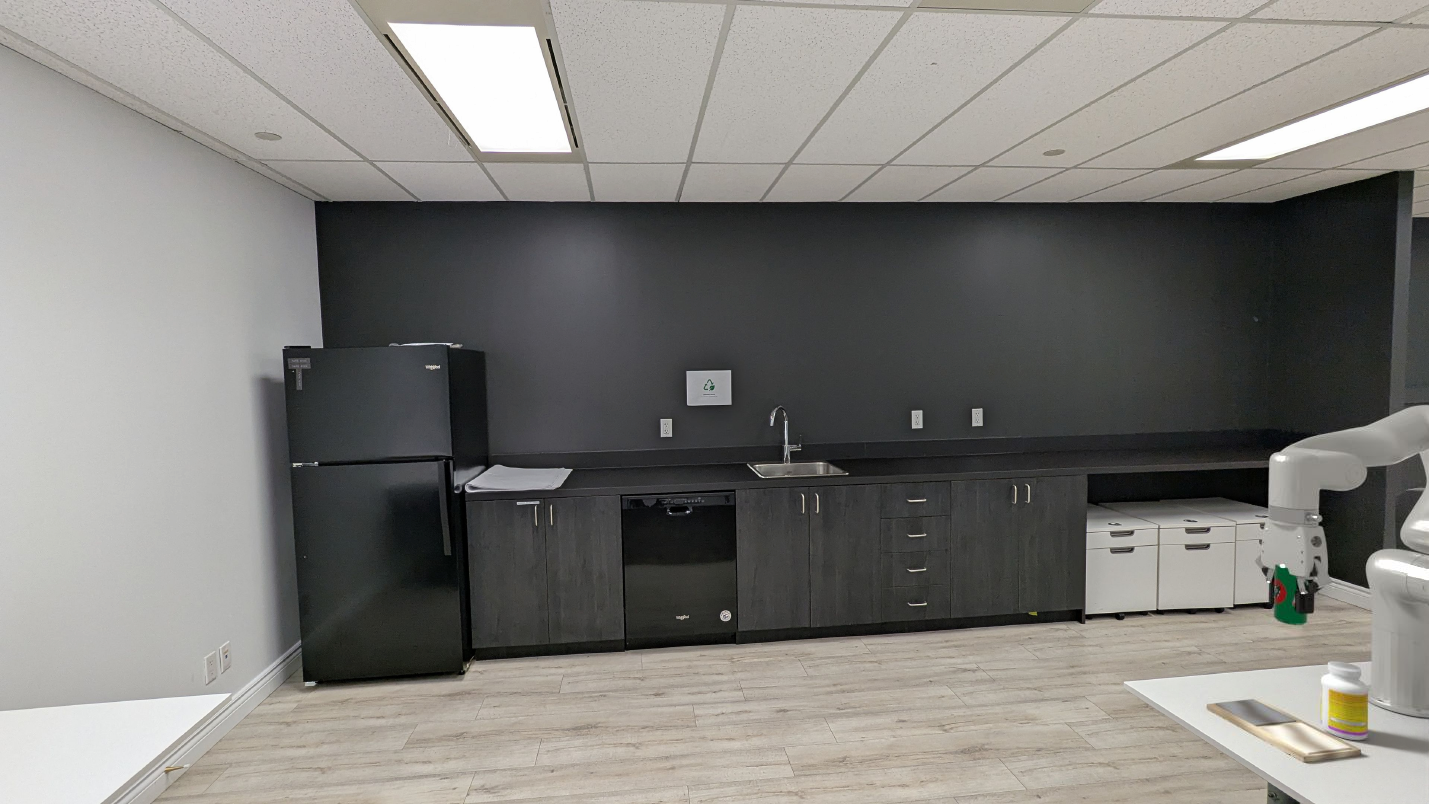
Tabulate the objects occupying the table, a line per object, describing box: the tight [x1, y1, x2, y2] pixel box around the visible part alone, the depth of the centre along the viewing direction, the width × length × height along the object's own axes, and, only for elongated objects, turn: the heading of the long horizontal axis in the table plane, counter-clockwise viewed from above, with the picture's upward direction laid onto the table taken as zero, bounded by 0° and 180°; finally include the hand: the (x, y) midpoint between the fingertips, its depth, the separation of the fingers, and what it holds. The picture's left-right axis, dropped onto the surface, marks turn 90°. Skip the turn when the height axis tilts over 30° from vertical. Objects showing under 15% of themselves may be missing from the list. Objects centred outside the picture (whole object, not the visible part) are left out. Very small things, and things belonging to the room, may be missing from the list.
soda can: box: [1273, 564, 1308, 626], centre depth 135 cm, size 5×5×12 cm
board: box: [1206, 698, 1362, 763], centre depth 133 cm, size 12×20×1 cm, turn 9°
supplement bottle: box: [1320, 660, 1369, 741], centre depth 132 cm, size 7×7×13 cm
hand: (1290, 607), depth 135 cm, fingers closed on soda can, 5 cm apart
